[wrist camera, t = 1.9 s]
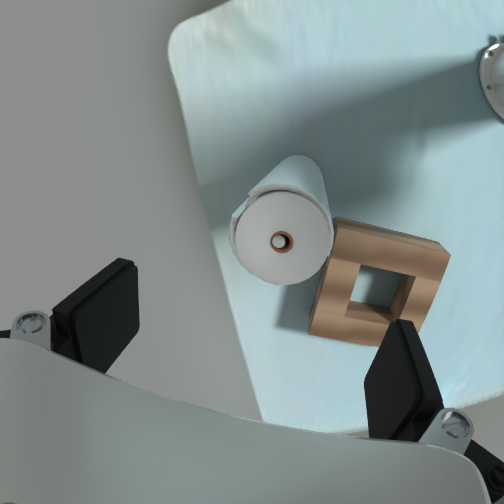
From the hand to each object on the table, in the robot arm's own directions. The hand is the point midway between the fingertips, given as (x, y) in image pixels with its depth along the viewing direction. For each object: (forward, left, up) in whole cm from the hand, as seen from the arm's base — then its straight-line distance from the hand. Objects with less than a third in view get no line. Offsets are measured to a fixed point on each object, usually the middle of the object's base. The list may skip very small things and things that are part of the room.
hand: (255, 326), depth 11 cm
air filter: (0, 0, -34) cm, 34 cm away
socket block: (+12, +14, -33) cm, 38 cm away
